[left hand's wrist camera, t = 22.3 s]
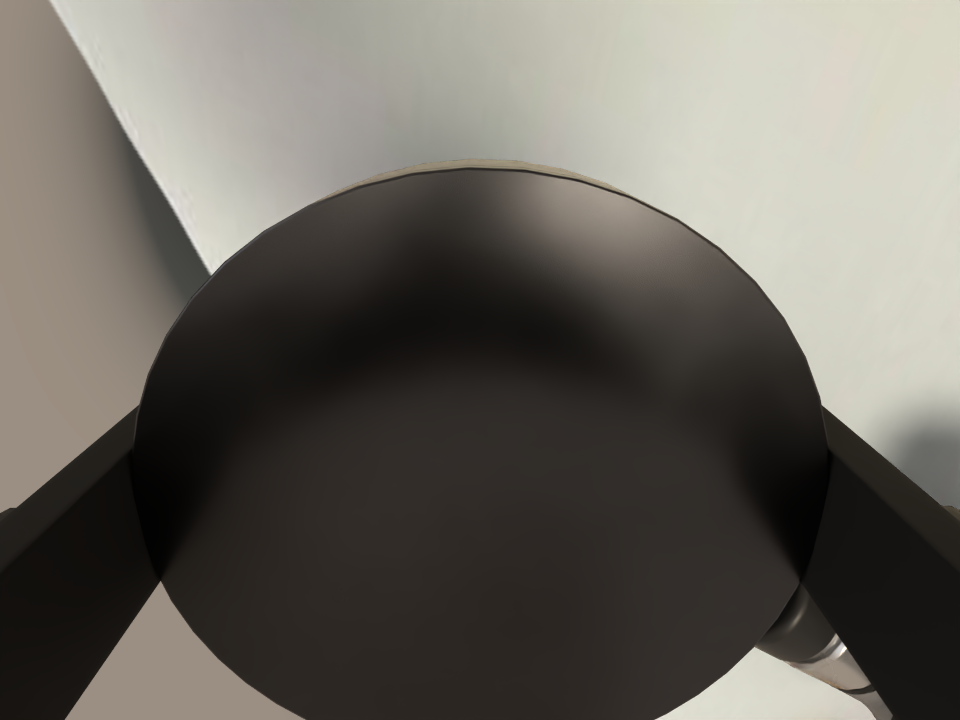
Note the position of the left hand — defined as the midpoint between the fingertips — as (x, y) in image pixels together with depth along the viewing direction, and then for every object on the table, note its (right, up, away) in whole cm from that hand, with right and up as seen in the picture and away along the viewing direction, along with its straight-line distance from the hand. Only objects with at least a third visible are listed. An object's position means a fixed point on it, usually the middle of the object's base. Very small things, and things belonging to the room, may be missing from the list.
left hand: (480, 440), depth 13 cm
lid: (0, -1, -2) cm, 3 cm away
